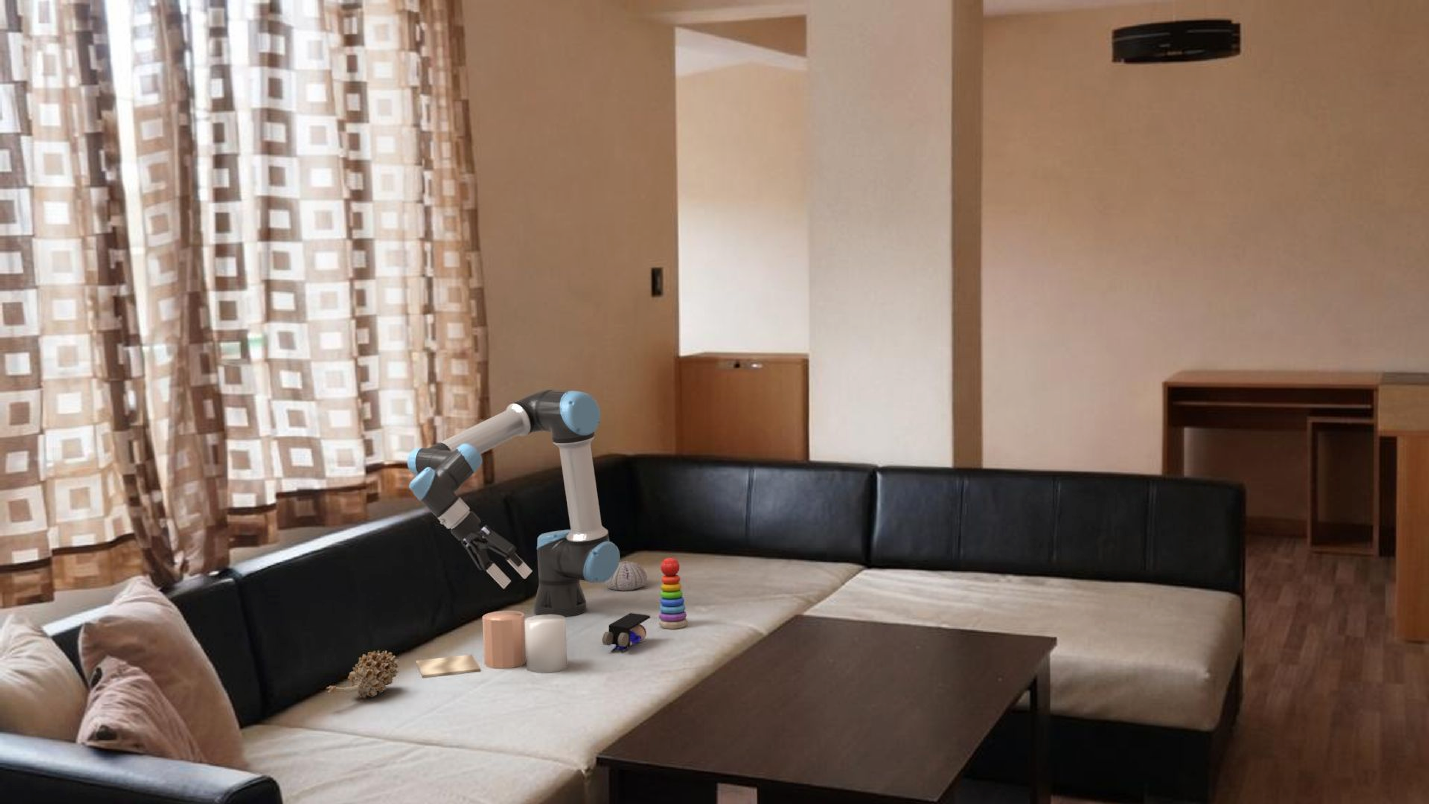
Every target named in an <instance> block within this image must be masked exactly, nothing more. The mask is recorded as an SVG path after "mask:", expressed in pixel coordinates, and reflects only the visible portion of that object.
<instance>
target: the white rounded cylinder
mask: <svg viewBox="0 0 1429 804" xmlns="http://www.w3.org/2000/svg"><path fill="white" fill-rule="evenodd" d="M566 618H567V617H566V616H561V615H553V614H547V615H537V614H536V615H532V616H529V617H527V618H524V622H525V646H526V662H525V663H526V669H527V671H529V672H531V673H537V674H547V673H548V674H549V673H556V672H561V671H563V670H566V669H567V668H568V648H567V646H568V644H567V640H568V639H567V622H566V621H567V619H566Z"/></svg>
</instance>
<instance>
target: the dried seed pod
mask: <svg viewBox="0 0 1429 804" xmlns="http://www.w3.org/2000/svg"><path fill="white" fill-rule="evenodd" d="M380 651H381V650H377V651H376V650H373V651H369V652H367V655H366V654H364V653H363V654H362V657H358V662H357V663H356V664H355V665H354V666H355V667H352V669H353V671H351V672H349V675H348V677H347V679H349V680H350V682H351V684H350V685H349V686H347V687H339V686H336V685H329V686H327V689H329V690H328V691H327V692H328V693H331V694H344V693H345V694H348V693H349V694H350V693H355V692H357V694H358V695H359V697H360V698H361V699H362V698H363V699H366V698H367V696H368V697H371V698H374V697H375V696H377V694H378V692H380V693H383V692H384V691H385V690H387V686H389V685H392V684H393V681H394V679H393V678H395V677H397V675H398V673H399V671H398V670H397V669H398V668H399V666H400V665H399V664H398V663H399V659H396V656H395V655H393V652H388V651H387V650H383V651H382V652H381V653H380Z"/></svg>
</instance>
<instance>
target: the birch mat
mask: <svg viewBox="0 0 1429 804" xmlns="http://www.w3.org/2000/svg"><path fill="white" fill-rule="evenodd" d="M415 664H416V667H417V668H418V670H419V673H420V676H421V678H423V679H424V678H431V677H441V676H448V675H456V674H467V673H468V674H469V673H476V672H481V668H480V666H479V664H478V662H477V661H476V659H475V658H474V656H473V654H465V655H456V656H447V657H438V658H429V659H428V658H427V659H419V660H415Z"/></svg>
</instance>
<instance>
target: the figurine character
mask: <svg viewBox="0 0 1429 804" xmlns="http://www.w3.org/2000/svg"><path fill="white" fill-rule="evenodd" d="M650 618H651V615H649V614H641V613H633V612H629V613H627V614H626V615H624V616H622V617H621V618H619V619H617V620H614V621H613V622H612V623H610V624H608V631H604V633H603V635H602V638H601V642H602V644H603V645H604V646H608V647H609V646H611V645H615V647H614V648H612V649H611V650H610V652H611V653H614V652H616V651H617V650H619V649H620V650H621V651H620V653H621V654H623V653H624V652H626V651H627V650H628V649H629V647H631V646H632V645H634V644H639V643H641V642H643V641H644V640H645V639H646V637H647V629H646V628H645V627H644V625H642V623H644V622H646V621H648V620H649V619H650Z"/></svg>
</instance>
